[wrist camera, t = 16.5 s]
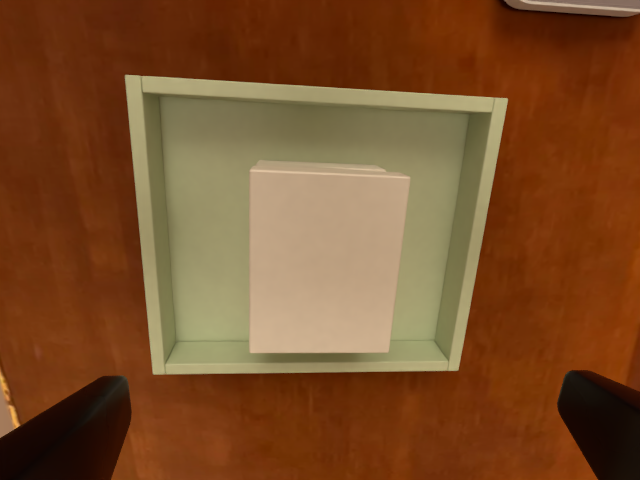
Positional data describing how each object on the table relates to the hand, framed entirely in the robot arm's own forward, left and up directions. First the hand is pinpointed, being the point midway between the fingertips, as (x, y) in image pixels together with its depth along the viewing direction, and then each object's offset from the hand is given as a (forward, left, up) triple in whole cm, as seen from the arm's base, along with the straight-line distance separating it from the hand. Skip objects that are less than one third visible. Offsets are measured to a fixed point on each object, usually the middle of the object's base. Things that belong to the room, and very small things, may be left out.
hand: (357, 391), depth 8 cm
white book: (0, 0, -8) cm, 8 cm away
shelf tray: (0, 0, -12) cm, 12 cm away
